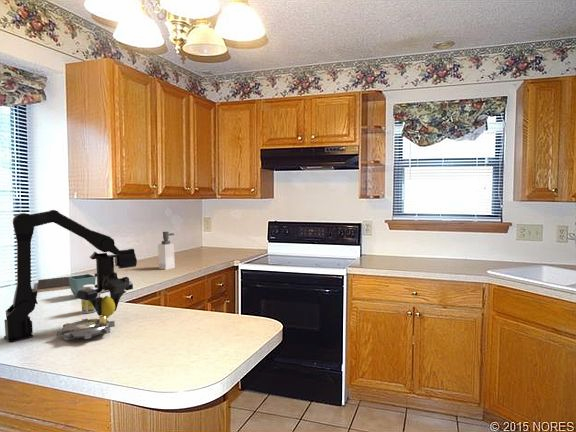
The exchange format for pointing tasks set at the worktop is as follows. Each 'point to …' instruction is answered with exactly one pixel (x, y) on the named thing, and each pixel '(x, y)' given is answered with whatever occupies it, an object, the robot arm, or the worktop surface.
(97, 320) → the sprocket
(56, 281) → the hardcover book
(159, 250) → the soap dispenser
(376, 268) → the worktop surface
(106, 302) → the lemon
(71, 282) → the flower pot
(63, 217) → the robot arm
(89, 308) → the supplement bottle
